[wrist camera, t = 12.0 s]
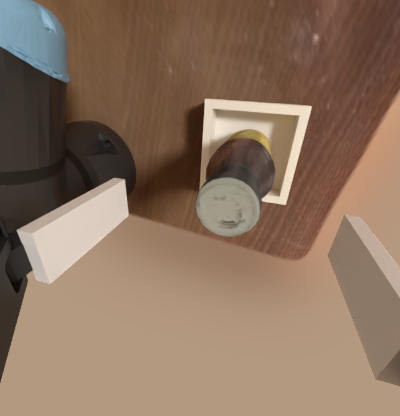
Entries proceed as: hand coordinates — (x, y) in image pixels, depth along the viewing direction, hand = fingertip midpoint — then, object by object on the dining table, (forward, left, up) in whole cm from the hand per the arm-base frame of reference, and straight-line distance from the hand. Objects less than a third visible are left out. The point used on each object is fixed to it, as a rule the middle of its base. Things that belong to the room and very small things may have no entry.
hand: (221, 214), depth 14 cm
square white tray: (0, 0, -21) cm, 21 cm away
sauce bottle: (0, 0, -20) cm, 20 cm away
